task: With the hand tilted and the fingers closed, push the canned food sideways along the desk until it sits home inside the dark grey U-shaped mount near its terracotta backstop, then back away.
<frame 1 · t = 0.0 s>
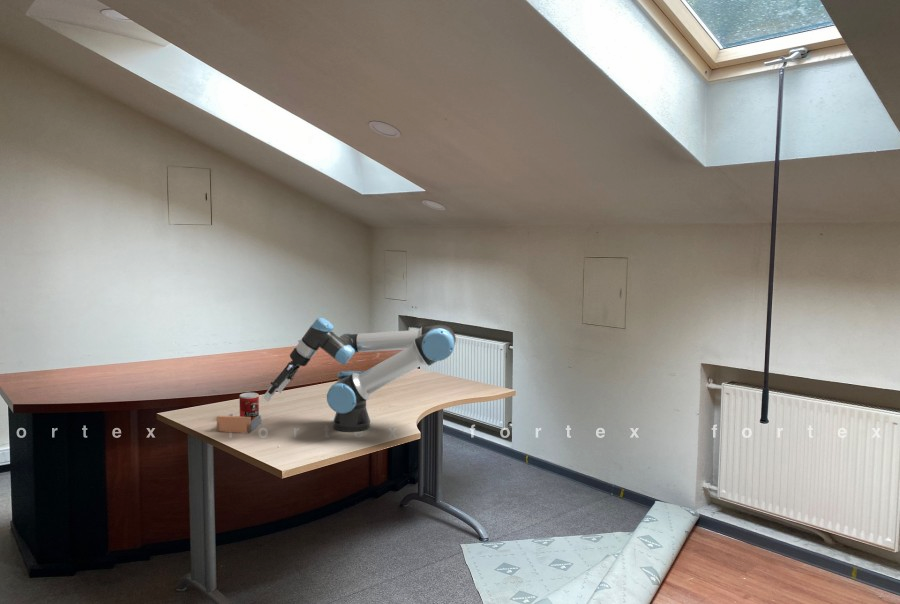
hand: (271, 395, 241), 15 cm above the table, tool tilted 35°, fingers open, 13 cm apart
mount: (239, 427, 249), on the table
canned food: (249, 420, 259), on the table
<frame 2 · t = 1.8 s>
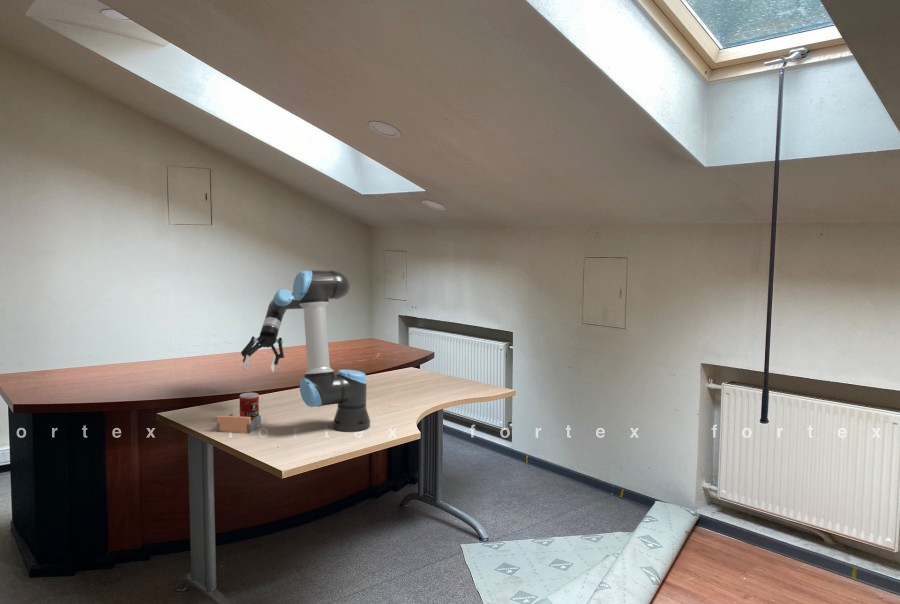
hand: (258, 369, 267), 19 cm above the table, tool tilted 45°, fingers open, 11 cm apart
nothing on the table moved.
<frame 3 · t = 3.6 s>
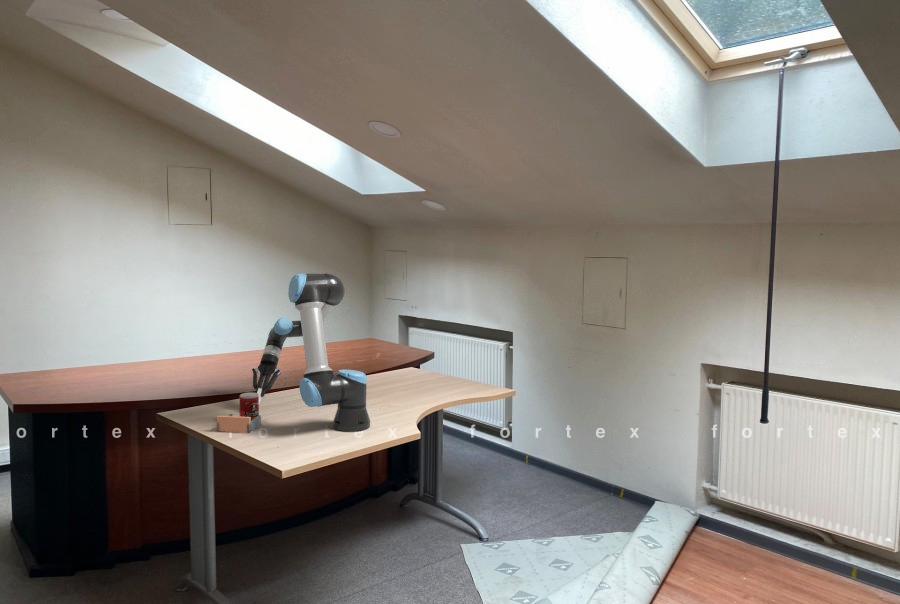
hand: (257, 402, 268), 5 cm above the table, tool tilted 45°, fingers closed
nothing on the table moved.
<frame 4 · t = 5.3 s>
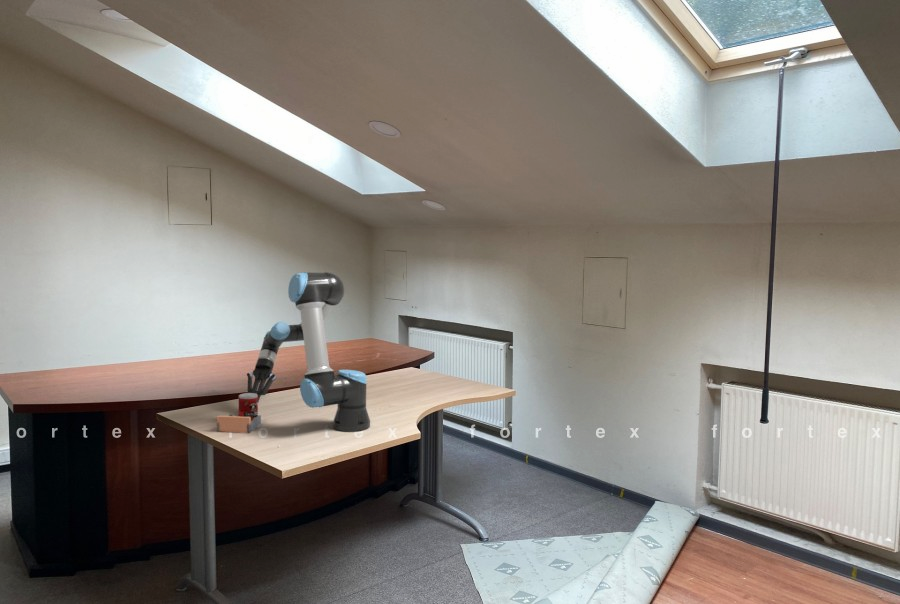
hand: (251, 408, 263), 4 cm above the table, tool tilted 45°, fingers closed
canned food: (248, 421, 258), on the table, touching gripper
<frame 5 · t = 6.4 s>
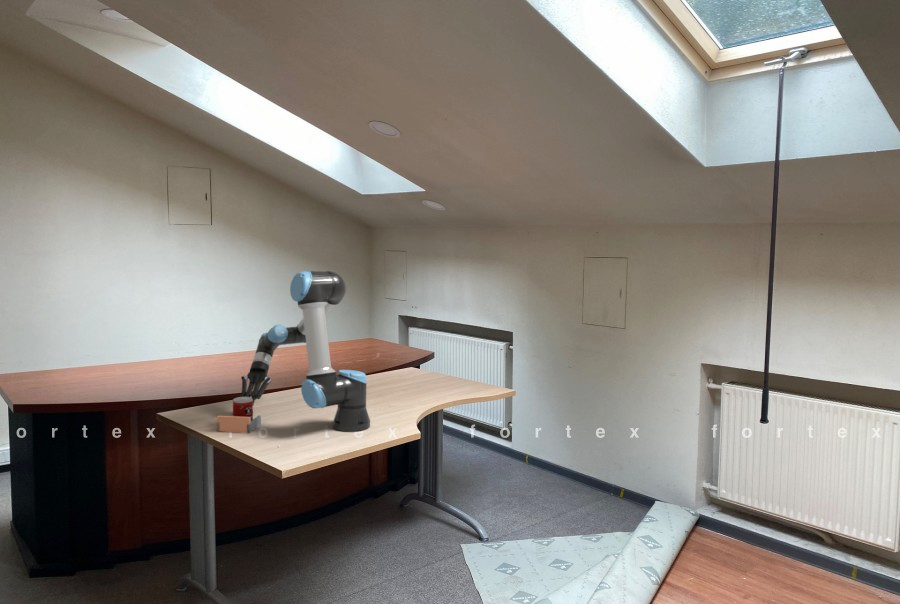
hand: (246, 412, 257), 4 cm above the table, tool tilted 45°, fingers closed
canned food: (243, 425, 252), on the table, touching gripper
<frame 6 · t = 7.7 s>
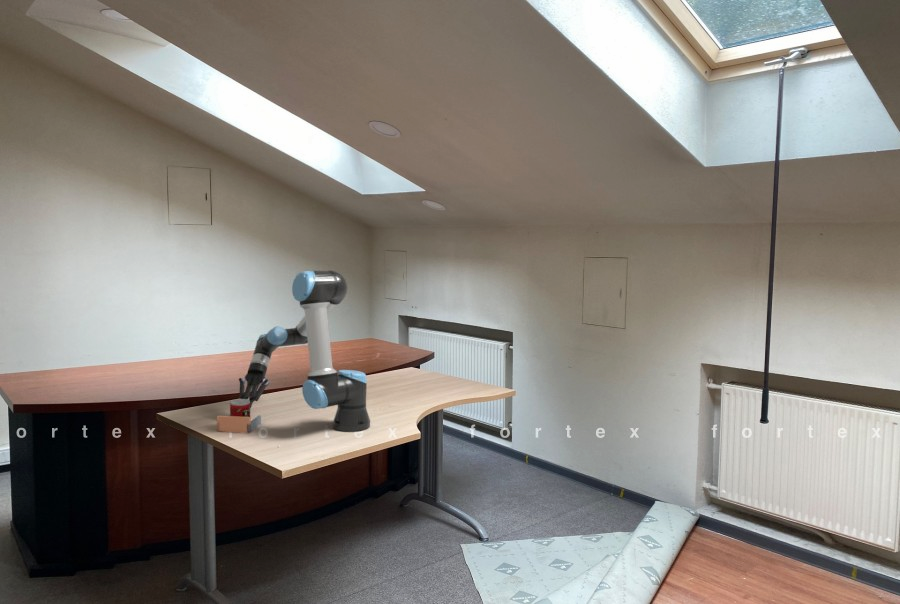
hand: (243, 414, 253), 4 cm above the table, tool tilted 45°, fingers closed
canned food: (240, 428, 248), on the table, touching gripper
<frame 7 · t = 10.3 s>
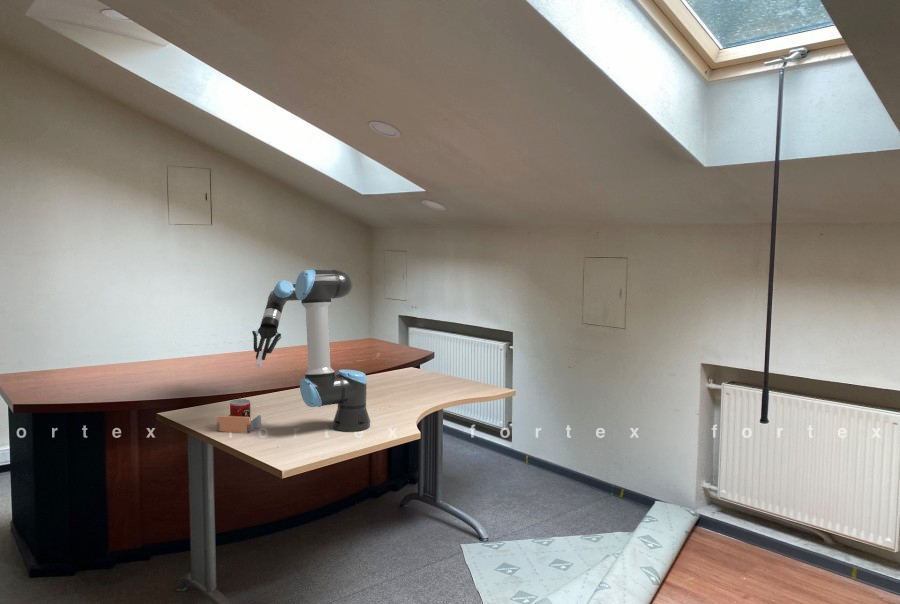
hand: (258, 365, 265), 22 cm above the table, tool tilted 40°, fingers closed
canned food: (240, 428, 248), on the table
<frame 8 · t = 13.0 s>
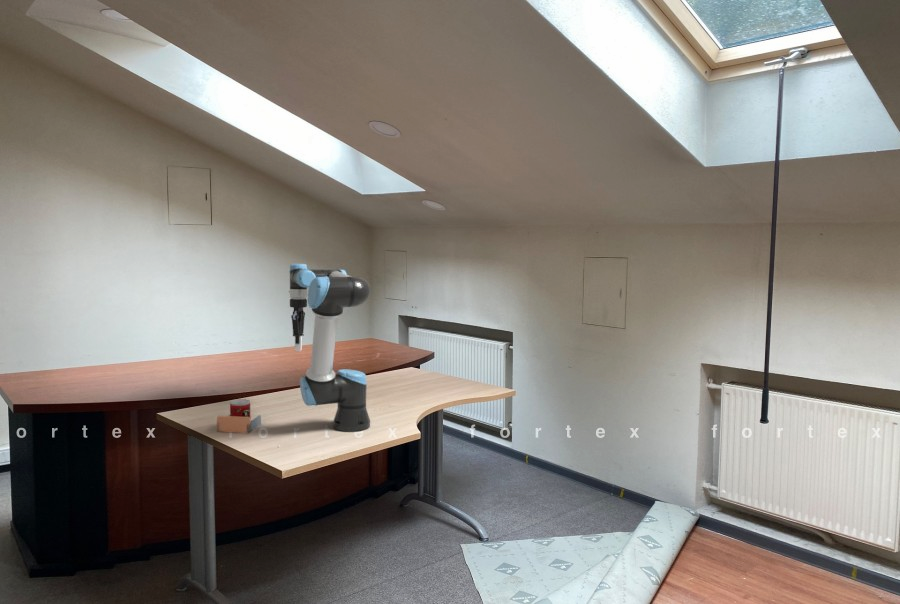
hand: (298, 350, 278), 26 cm above the table, tool pointing down, fingers closed
nothing on the table moved.
at the end: canned food 1.9 cm off-centre on the mount, point 0.0 cm above the mount's base; canned food tilted 0°; canned food moved 11.0 cm from its start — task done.
